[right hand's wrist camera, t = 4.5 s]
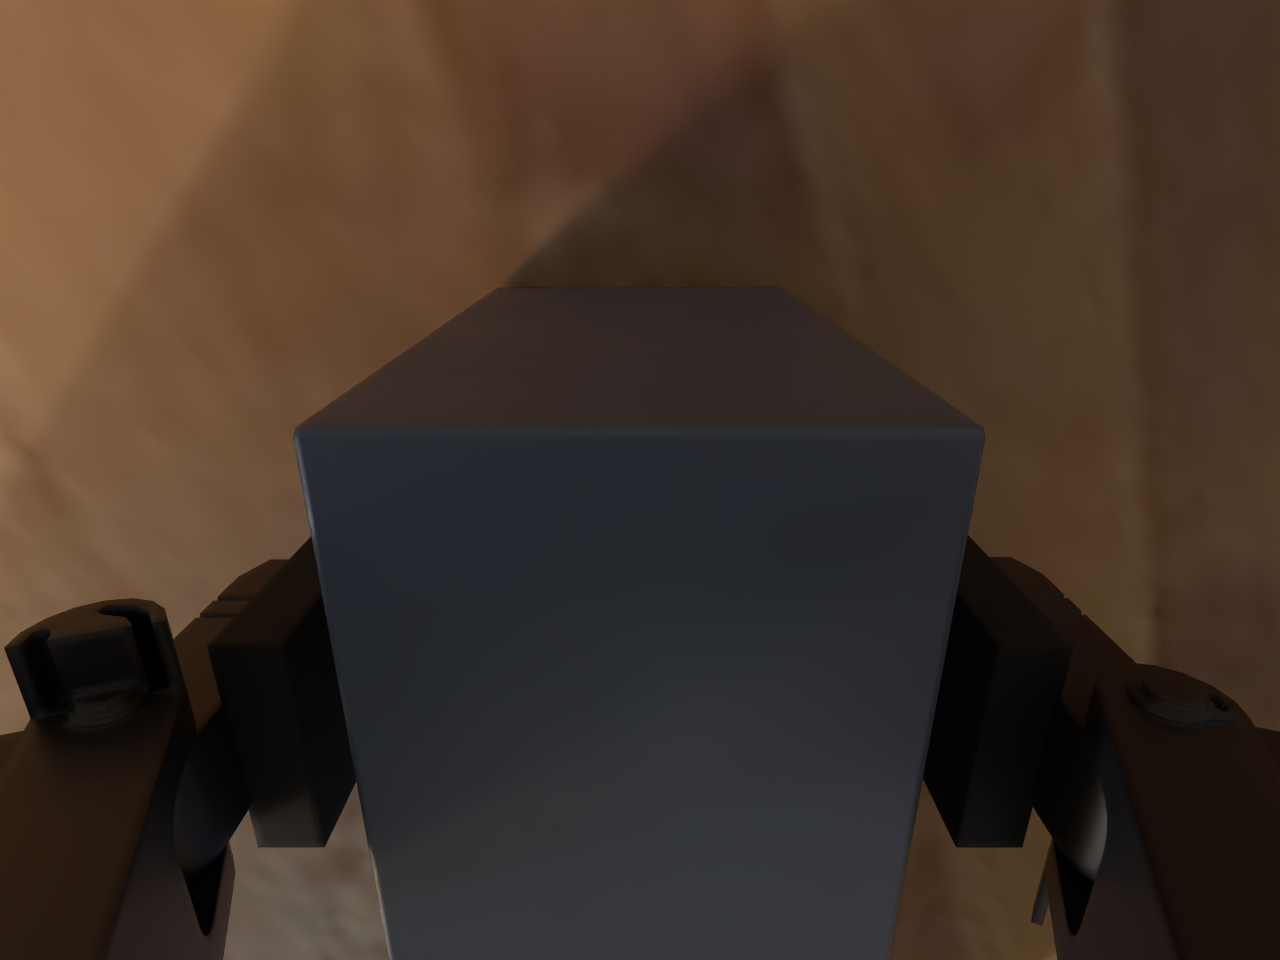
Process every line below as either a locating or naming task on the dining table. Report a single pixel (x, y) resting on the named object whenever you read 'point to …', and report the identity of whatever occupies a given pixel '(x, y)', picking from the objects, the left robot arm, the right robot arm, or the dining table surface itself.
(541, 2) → the dining table surface
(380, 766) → the grey long box
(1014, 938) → the dining table surface
